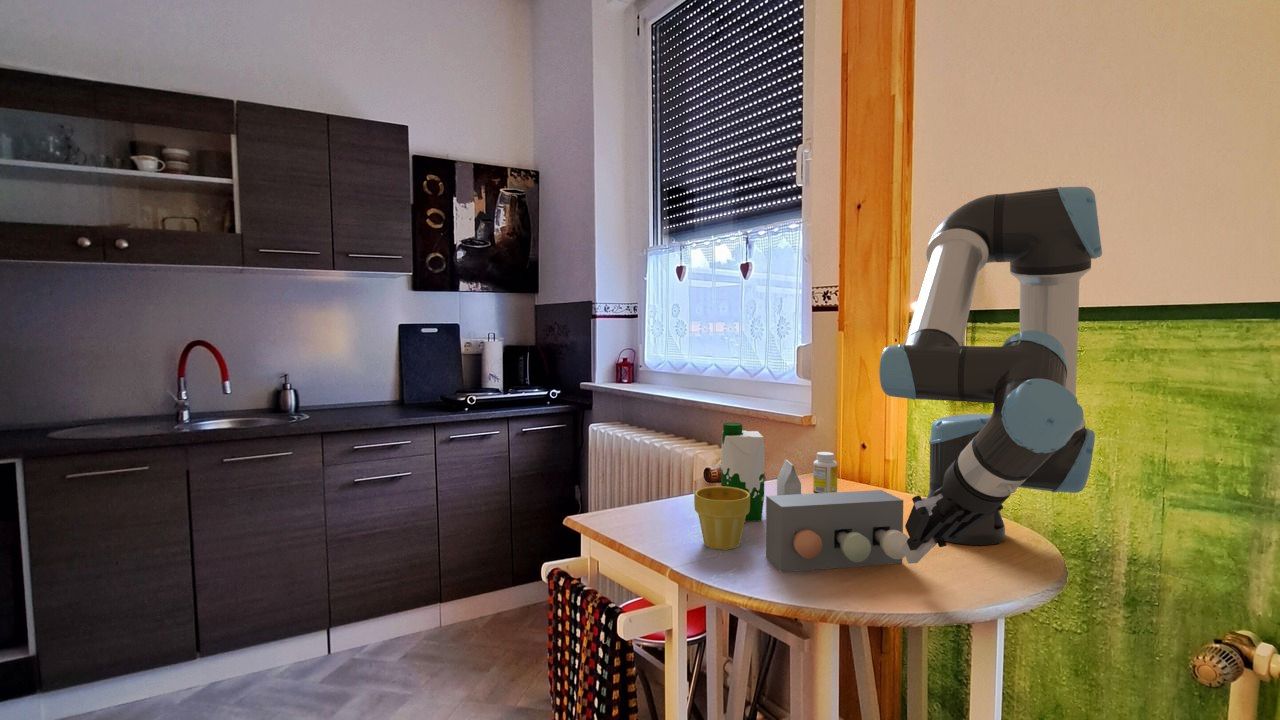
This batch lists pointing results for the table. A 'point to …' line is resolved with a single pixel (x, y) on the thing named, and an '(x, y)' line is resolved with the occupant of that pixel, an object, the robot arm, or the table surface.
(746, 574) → the table surface
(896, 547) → the ivory button
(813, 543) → the terracotta button
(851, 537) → the sage button
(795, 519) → the control box
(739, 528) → the plant pot
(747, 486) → the milk carton
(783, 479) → the white gabled block
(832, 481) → the supplement bottle
